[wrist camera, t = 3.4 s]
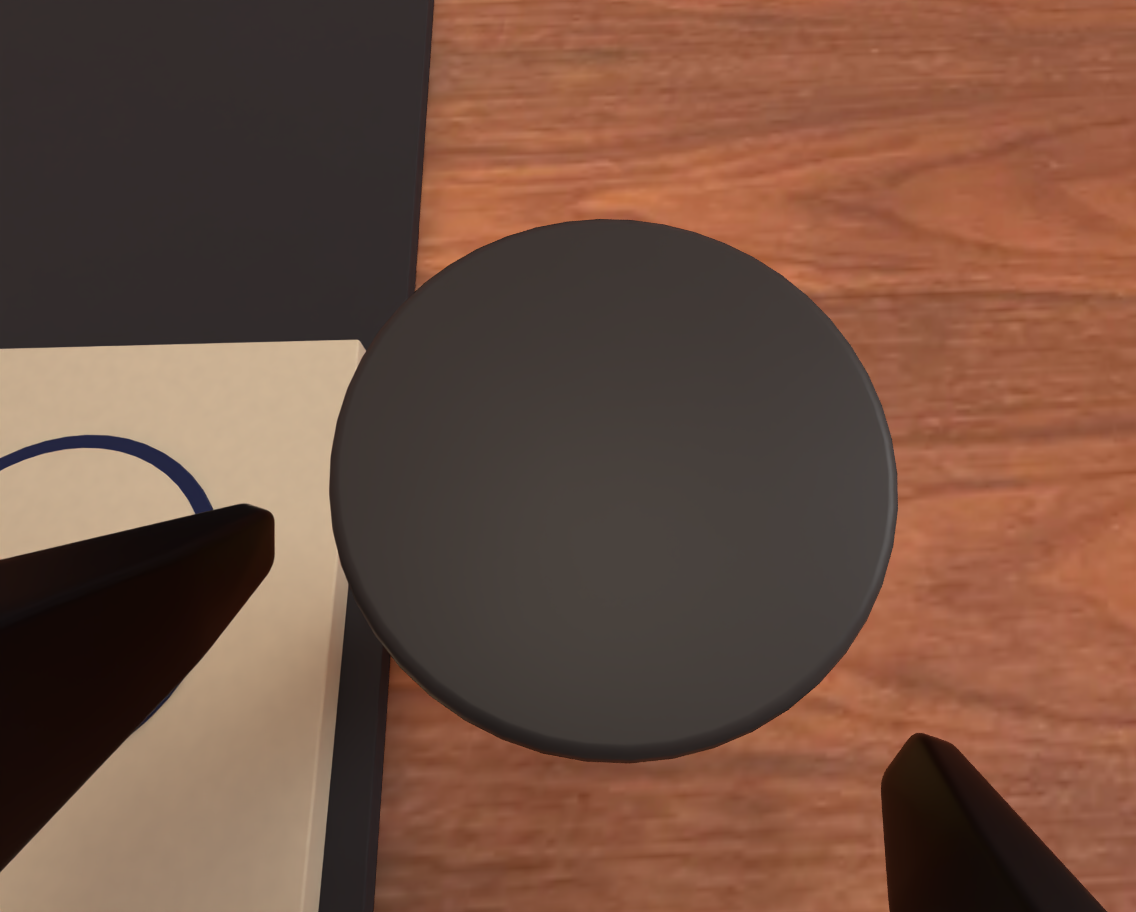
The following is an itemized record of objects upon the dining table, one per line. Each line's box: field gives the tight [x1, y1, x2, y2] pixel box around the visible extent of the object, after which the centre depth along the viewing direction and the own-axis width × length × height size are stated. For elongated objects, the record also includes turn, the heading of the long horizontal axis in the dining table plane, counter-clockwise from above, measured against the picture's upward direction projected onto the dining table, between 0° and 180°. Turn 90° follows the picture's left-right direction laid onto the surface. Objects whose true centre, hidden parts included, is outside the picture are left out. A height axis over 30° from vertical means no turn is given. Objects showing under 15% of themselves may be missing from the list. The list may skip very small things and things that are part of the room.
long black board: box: [0, 0, 434, 912], centre depth 22 cm, size 66×18×2 cm, turn 2°
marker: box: [329, 219, 898, 763], centre depth 10 cm, size 3×3×14 cm
